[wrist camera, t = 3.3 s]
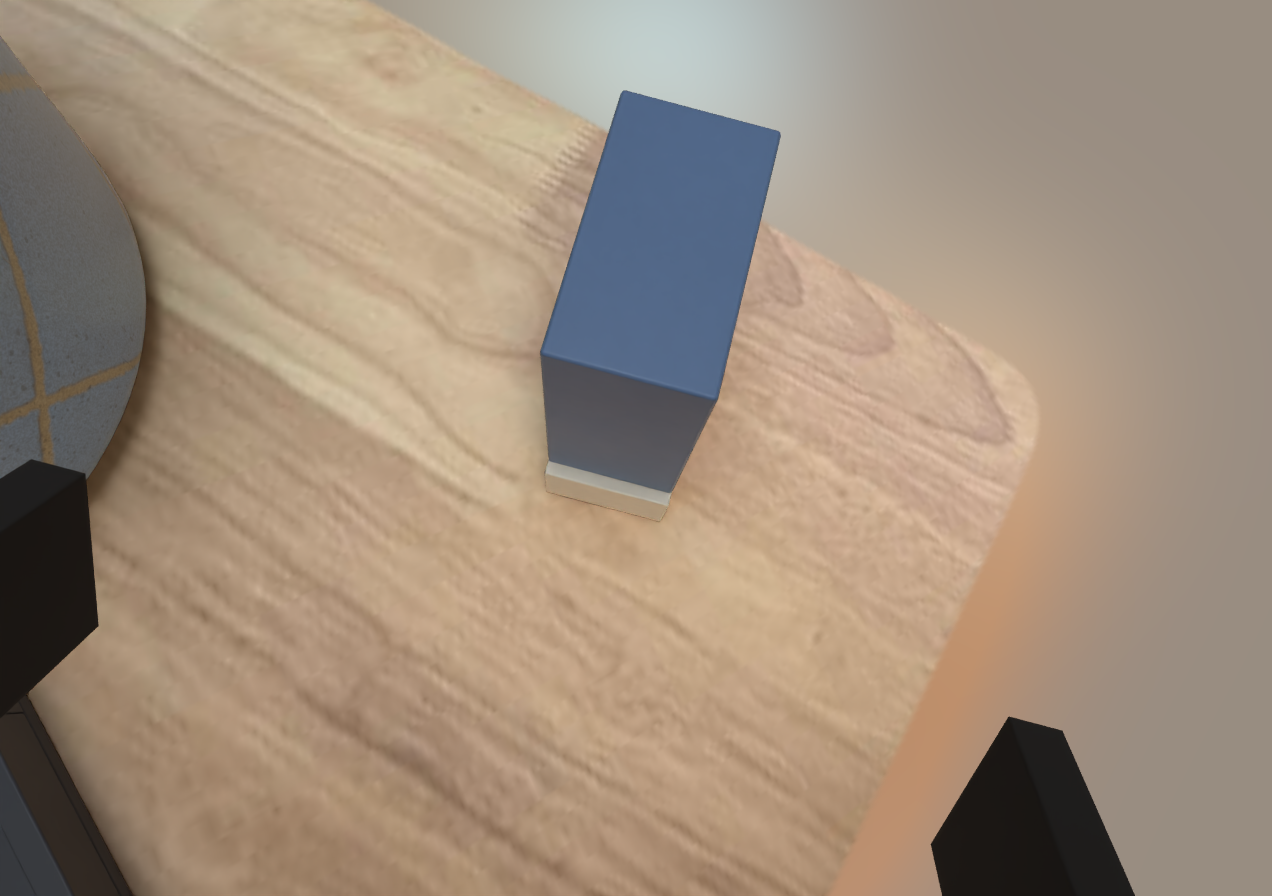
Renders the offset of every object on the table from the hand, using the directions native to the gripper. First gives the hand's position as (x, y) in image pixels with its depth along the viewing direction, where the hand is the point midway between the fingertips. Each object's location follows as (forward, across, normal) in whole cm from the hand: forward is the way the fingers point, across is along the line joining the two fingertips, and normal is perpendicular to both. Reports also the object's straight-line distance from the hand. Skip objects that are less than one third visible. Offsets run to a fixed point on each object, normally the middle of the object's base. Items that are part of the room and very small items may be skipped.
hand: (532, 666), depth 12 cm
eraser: (+18, 0, -4) cm, 19 cm away
